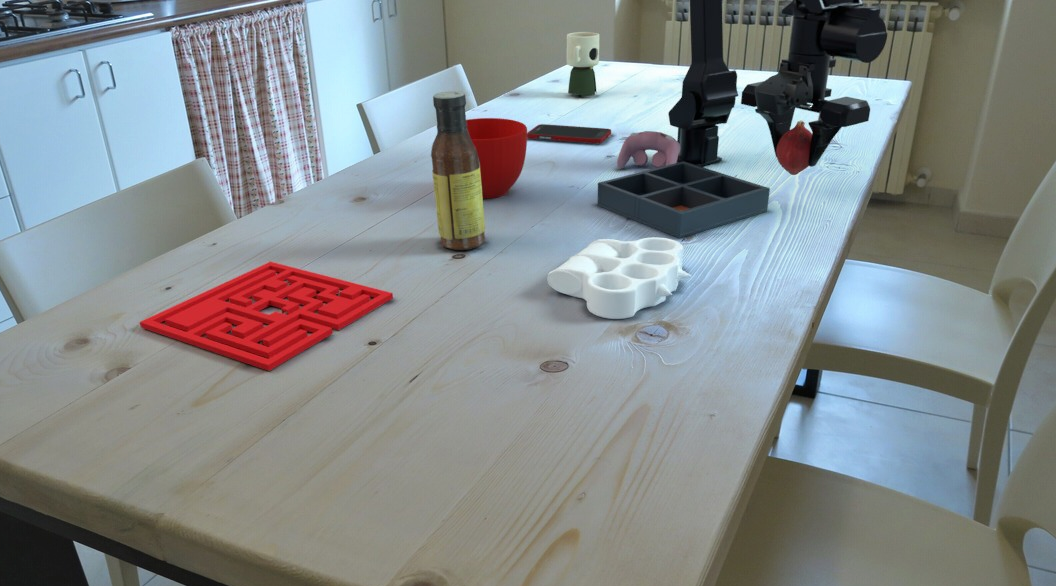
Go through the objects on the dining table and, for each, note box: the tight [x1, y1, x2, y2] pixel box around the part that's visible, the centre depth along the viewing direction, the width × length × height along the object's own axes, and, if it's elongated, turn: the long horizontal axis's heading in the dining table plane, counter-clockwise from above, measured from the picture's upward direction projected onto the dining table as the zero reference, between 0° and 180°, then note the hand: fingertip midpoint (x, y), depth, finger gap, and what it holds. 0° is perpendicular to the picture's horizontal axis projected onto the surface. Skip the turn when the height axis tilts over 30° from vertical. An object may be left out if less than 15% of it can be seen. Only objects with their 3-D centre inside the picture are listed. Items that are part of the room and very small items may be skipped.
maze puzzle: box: [139, 261, 394, 372], centre depth 101 cm, size 20×20×1 cm
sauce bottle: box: [430, 90, 486, 251], centre depth 115 cm, size 7×6×20 cm
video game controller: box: [616, 130, 680, 170], centre depth 147 cm, size 10×5×7 cm, turn 65°
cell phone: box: [527, 123, 612, 145], centre depth 166 cm, size 8×15×1 cm, turn 69°
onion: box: [776, 120, 812, 176], centre depth 130 cm, size 6×6×8 cm
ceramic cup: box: [466, 117, 528, 199], centre depth 135 cm, size 13×17×10 cm
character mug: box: [566, 31, 600, 98], centre depth 194 cm, size 11×7×13 cm, turn 159°
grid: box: [596, 161, 771, 239], centre depth 129 cm, size 17×17×4 cm
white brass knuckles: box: [546, 236, 692, 320], centre depth 105 cm, size 3×18×15 cm
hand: (795, 161), depth 131 cm, fingers closed on onion, 6 cm apart
